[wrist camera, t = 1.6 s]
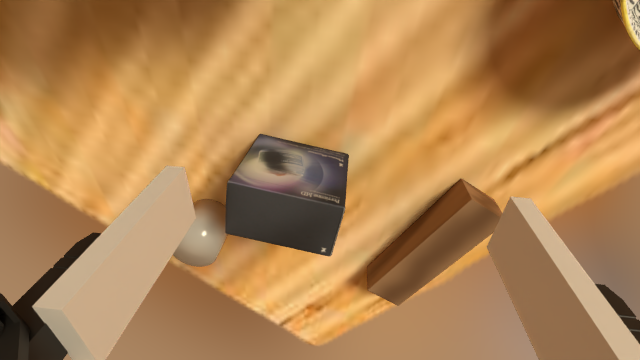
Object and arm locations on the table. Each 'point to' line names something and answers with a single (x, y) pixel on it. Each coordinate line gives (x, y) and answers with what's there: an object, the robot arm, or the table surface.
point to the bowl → (630, 18)
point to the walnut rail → (433, 242)
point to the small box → (288, 195)
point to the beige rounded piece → (203, 234)
